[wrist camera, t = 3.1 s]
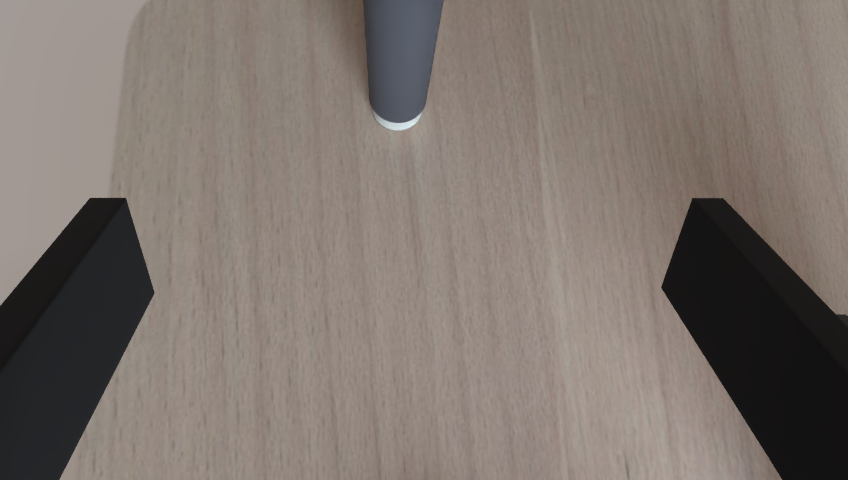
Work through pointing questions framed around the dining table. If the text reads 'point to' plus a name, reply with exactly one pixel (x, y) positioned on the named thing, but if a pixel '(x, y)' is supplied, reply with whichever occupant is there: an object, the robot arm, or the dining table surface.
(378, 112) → the grey cylinder
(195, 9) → the dining table surface
